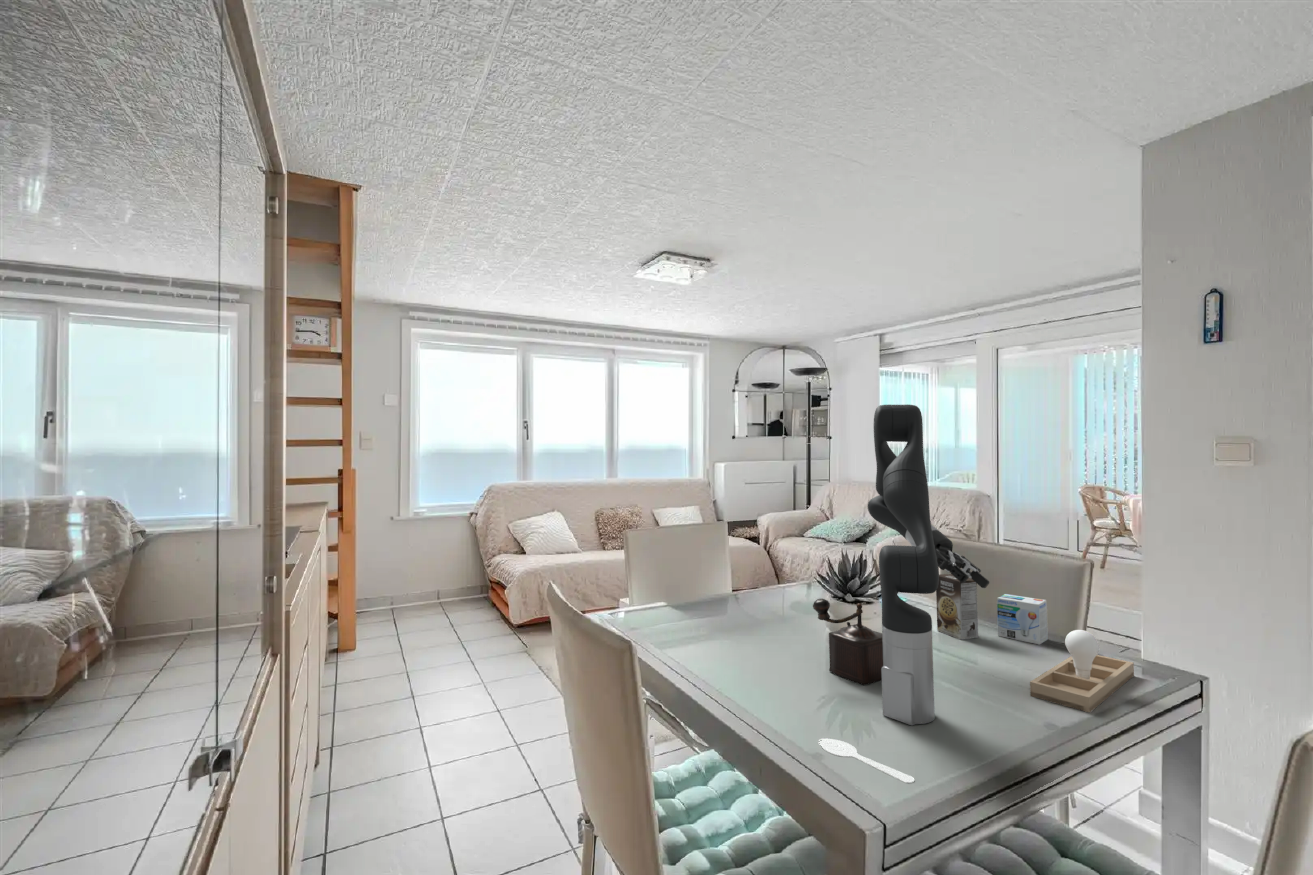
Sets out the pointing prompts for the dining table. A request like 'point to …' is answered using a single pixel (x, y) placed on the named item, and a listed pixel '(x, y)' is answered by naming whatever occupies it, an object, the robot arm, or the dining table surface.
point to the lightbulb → (1082, 651)
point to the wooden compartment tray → (1082, 683)
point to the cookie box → (957, 607)
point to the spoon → (860, 758)
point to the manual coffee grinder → (853, 647)
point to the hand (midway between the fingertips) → (976, 582)
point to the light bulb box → (1022, 618)
